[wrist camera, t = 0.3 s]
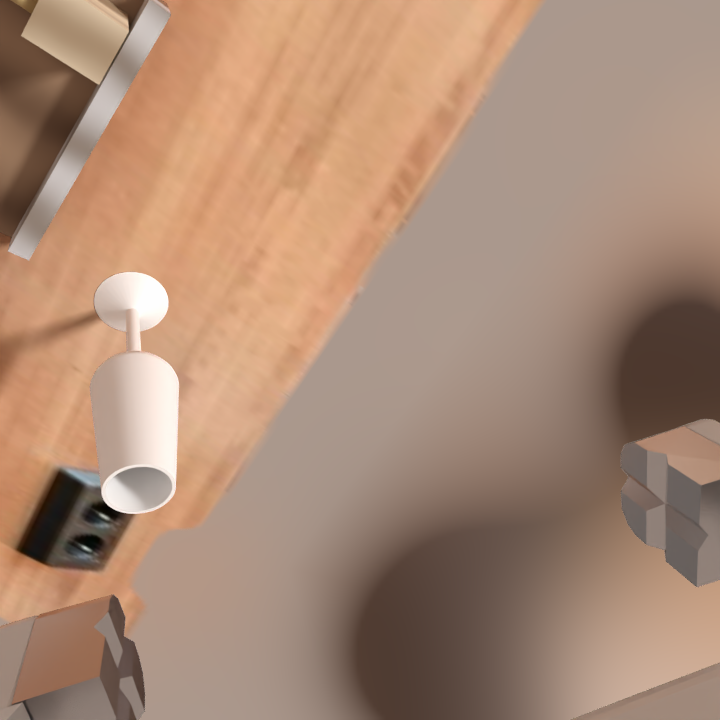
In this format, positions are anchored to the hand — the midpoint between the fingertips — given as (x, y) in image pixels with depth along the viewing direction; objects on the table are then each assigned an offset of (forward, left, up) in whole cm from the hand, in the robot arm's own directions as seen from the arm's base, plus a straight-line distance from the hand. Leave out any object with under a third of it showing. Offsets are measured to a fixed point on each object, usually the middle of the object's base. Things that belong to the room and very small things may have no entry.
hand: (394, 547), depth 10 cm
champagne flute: (+24, +10, -51) cm, 57 cm away
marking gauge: (+4, -7, -48) cm, 49 cm away
